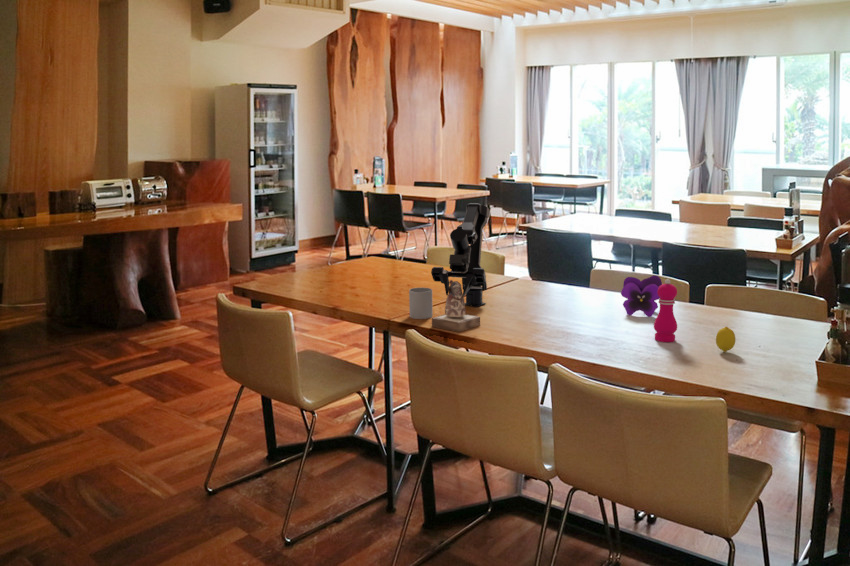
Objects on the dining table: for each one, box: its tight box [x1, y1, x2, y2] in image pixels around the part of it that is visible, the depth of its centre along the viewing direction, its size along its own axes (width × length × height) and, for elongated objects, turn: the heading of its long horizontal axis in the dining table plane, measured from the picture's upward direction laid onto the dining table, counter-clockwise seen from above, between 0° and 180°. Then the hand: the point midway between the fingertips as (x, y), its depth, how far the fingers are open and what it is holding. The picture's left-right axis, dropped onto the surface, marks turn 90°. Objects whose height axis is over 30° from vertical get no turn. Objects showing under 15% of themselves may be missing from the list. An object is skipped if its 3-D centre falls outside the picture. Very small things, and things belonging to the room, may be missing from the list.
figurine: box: [444, 279, 467, 317], centre depth 267 cm, size 7×7×12 cm
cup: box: [408, 287, 433, 320], centre depth 282 cm, size 8×8×10 cm
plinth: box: [431, 313, 481, 333], centre depth 269 cm, size 12×12×3 cm
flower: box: [620, 275, 663, 317], centre depth 286 cm, size 15×15×14 cm
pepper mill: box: [653, 278, 678, 343], centre depth 246 cm, size 7×7×20 cm
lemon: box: [715, 326, 736, 353], centre depth 233 cm, size 6×6×8 cm
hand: (455, 295), depth 266 cm, fingers closed on figurine, 6 cm apart
